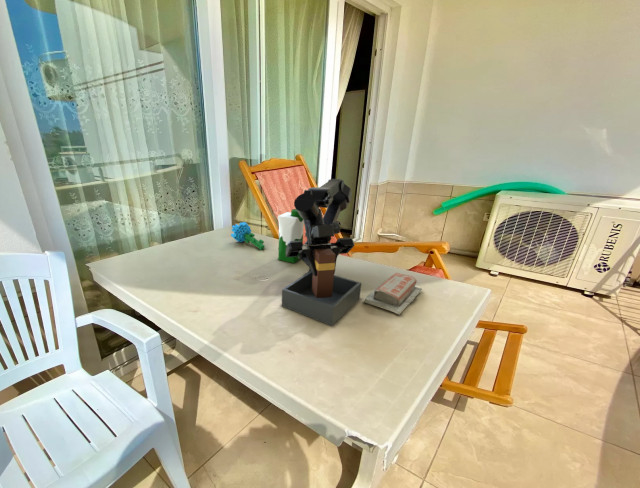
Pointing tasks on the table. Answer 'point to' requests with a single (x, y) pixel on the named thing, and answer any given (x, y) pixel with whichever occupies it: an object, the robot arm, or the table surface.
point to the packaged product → (394, 293)
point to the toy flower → (245, 235)
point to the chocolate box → (323, 273)
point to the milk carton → (289, 233)
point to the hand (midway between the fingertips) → (324, 275)
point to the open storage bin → (324, 308)
